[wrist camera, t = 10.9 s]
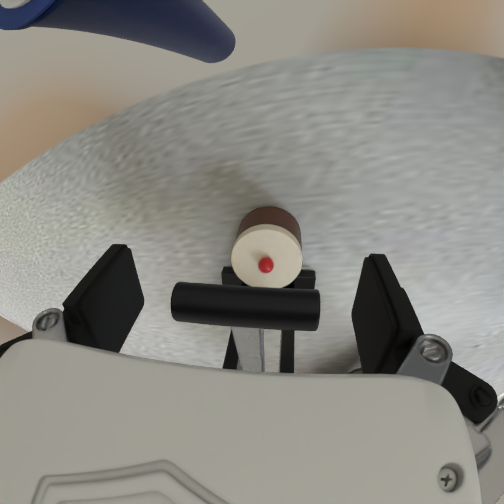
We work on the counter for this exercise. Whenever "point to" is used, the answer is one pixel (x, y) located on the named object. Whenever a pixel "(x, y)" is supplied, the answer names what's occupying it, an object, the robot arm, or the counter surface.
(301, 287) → the black upright frame
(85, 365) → the robot arm
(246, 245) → the cake
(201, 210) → the counter surface
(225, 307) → the lever
